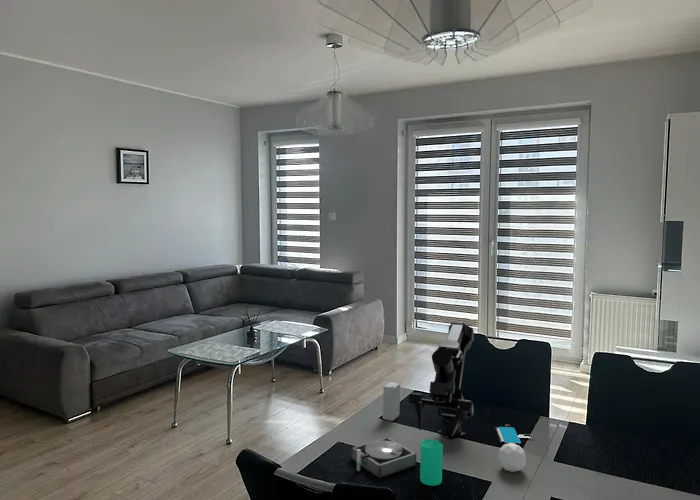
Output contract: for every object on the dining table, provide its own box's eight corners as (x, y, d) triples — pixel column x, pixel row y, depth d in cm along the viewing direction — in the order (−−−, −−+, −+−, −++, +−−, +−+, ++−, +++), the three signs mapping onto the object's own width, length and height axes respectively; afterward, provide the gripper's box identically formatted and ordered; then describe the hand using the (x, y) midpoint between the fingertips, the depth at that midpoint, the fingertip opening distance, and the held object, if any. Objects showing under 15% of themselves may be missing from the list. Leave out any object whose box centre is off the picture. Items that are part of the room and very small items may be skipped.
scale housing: (387, 447, 168) (387, 429, 167) (416, 465, 157) (416, 445, 156) (343, 461, 159) (343, 441, 158) (371, 480, 147) (371, 459, 147)
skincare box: (388, 413, 196) (389, 380, 195) (400, 415, 194) (400, 382, 193) (381, 419, 190) (382, 385, 189) (393, 421, 188) (394, 388, 187)
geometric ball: (516, 482, 153) (522, 469, 147) (490, 465, 156) (495, 452, 151) (527, 462, 157) (533, 448, 152) (502, 446, 161) (507, 432, 156)
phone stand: (540, 453, 166) (540, 448, 166) (501, 451, 167) (501, 446, 167) (526, 427, 186) (527, 422, 186) (491, 425, 187) (491, 420, 187)
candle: (441, 486, 145) (442, 444, 144) (419, 484, 146) (420, 441, 145) (442, 476, 151) (443, 434, 150) (420, 473, 152) (421, 432, 151)
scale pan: (386, 440, 166) (386, 437, 166) (410, 454, 157) (410, 451, 157) (350, 451, 158) (350, 448, 158) (373, 466, 149) (373, 463, 149)
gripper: (409, 365, 159) (398, 415, 149) (473, 373, 152) (466, 425, 143) (415, 383, 167) (405, 431, 157) (476, 391, 160) (469, 442, 151)
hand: (435, 432), depth 152 cm, fingers open, 9 cm apart
